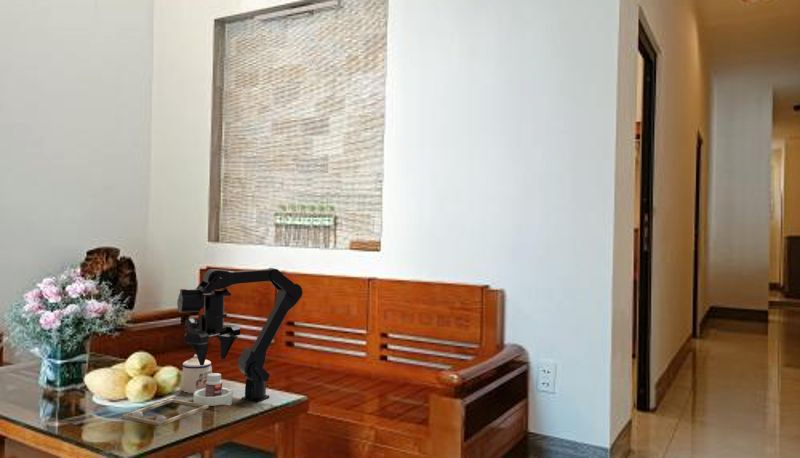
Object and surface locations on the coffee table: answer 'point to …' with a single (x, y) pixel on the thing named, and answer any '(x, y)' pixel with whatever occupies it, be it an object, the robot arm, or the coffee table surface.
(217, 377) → the pill bottle
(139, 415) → the pebble
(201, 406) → the tray
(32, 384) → the coffee table surface
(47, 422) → the coffee table surface
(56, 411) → the coffee table surface
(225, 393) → the bowl
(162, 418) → the pebble
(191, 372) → the teacup with lid
